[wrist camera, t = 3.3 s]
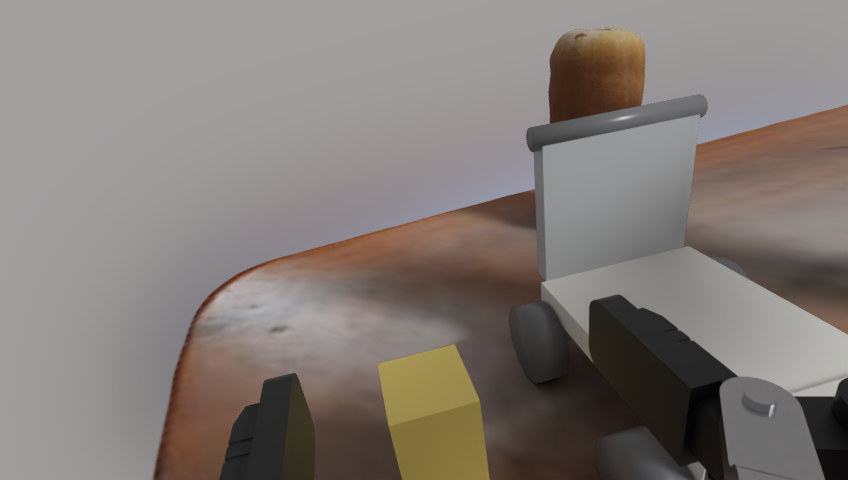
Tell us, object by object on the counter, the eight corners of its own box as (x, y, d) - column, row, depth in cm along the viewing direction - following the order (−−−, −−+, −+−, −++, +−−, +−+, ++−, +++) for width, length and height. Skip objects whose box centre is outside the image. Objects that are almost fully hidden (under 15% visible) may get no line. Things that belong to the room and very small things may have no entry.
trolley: (509, 347, 42) (493, 132, 33) (690, 299, 45) (720, 87, 36) (660, 592, 23) (715, 250, 15) (957, 486, 26) (1157, 139, 17)
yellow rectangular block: (403, 471, 32) (377, 364, 28) (470, 452, 33) (454, 344, 28) (417, 541, 28) (388, 426, 23) (493, 517, 28) (480, 400, 24)
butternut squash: (665, 215, 62) (685, 14, 51) (596, 247, 56) (601, 31, 46) (586, 192, 73) (589, 23, 62) (522, 217, 68) (513, 38, 57)
